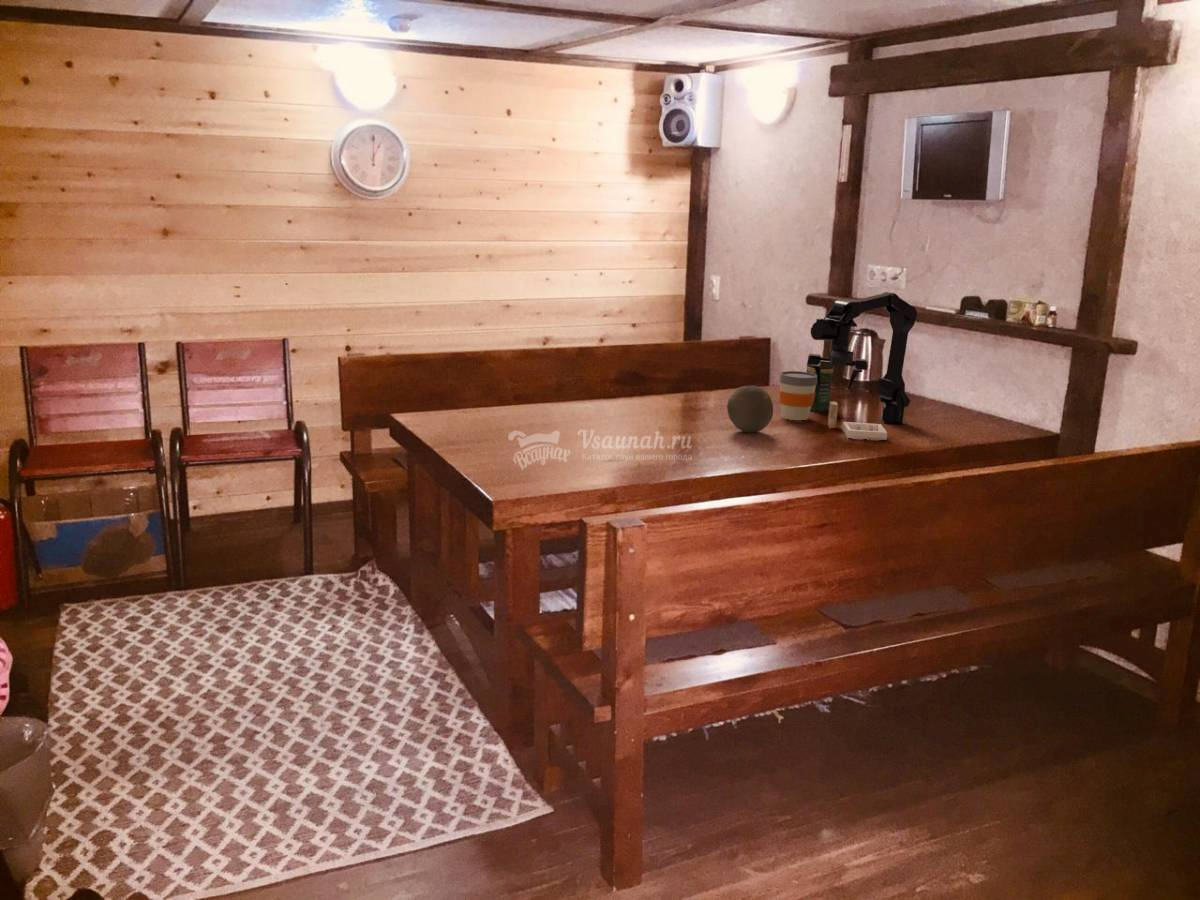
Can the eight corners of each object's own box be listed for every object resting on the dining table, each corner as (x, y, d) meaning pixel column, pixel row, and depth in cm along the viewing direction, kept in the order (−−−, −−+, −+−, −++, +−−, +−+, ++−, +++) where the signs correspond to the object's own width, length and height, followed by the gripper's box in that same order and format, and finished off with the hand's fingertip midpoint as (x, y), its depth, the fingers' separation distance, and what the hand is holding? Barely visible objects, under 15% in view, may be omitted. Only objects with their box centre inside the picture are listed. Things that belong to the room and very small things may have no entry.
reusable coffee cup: (801, 413, 343) (806, 370, 339) (820, 421, 332) (825, 377, 328) (769, 414, 339) (773, 371, 335) (787, 422, 328) (791, 378, 324)
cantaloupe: (733, 425, 321) (737, 379, 317) (776, 431, 315) (780, 385, 311) (719, 434, 309) (723, 386, 305) (763, 440, 303) (767, 392, 299)
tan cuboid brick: (833, 425, 327) (836, 401, 325) (835, 428, 323) (838, 404, 321) (827, 425, 327) (830, 401, 325) (829, 428, 323) (831, 404, 321)
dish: (879, 431, 321) (880, 422, 320) (886, 441, 309) (887, 431, 309) (842, 429, 322) (843, 420, 321) (847, 438, 310) (848, 428, 310)
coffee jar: (832, 411, 348) (838, 359, 343) (812, 412, 346) (818, 359, 341) (818, 405, 357) (823, 354, 352) (799, 406, 354) (804, 355, 350)
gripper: (810, 340, 311) (804, 389, 314) (871, 346, 307) (864, 395, 311) (810, 336, 321) (804, 383, 325) (869, 342, 318) (863, 389, 321)
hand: (833, 388), depth 320 cm, fingers open, 9 cm apart
